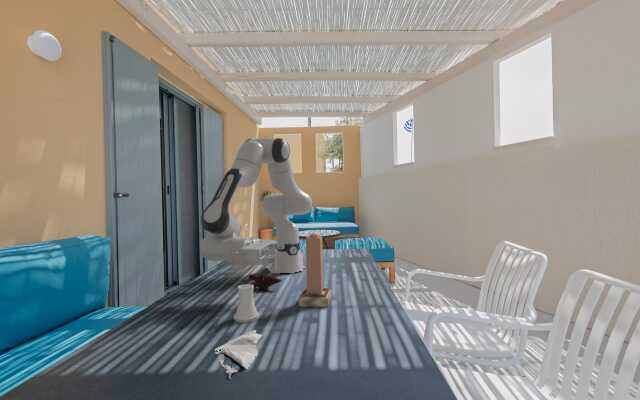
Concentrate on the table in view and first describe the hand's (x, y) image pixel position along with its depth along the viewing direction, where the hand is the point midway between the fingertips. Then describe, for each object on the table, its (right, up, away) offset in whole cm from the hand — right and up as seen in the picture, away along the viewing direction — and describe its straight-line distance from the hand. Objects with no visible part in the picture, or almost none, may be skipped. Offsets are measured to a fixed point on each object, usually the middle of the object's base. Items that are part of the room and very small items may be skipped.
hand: (280, 249), depth 123 cm
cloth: (-5, -20, -39) cm, 44 cm away
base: (+13, -18, -2) cm, 22 cm away
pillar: (+13, -15, -2) cm, 20 cm away
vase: (-9, -19, -17) cm, 27 cm away
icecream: (-8, -19, +16) cm, 26 cm away
